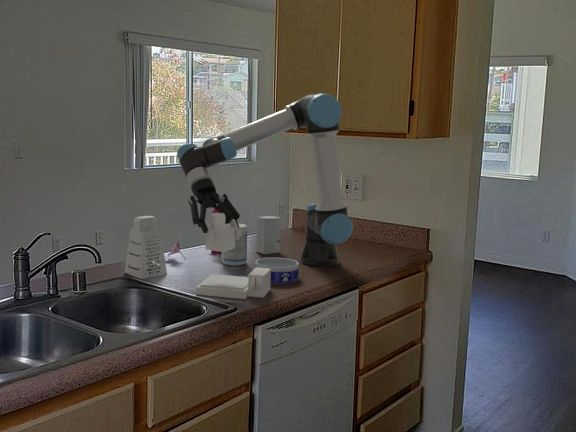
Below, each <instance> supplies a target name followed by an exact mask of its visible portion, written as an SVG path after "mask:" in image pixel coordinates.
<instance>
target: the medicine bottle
mask: <svg viewBox="0 0 576 432" xmlns="http://www.w3.org/2000/svg"><path fill="white" fill-rule="evenodd" d="M211 213H212V212H211ZM210 224H211V225H210V228H211V230H212V232H213V235H214V237H215V238H214V240H213V241H212V243H209V240H208V238H207V236H206V235H205V250H207V251H208V250H209V251H211V250H213V251H220V252H226V251H228V250H231V249H234V248H235V227H231V226H229V225H230V214H229V213H227V212H214V213H212V214H211V223H210Z"/></svg>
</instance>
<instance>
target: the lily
mask: <svg viewBox="0 0 576 432" xmlns="http://www.w3.org/2000/svg"><path fill="white" fill-rule="evenodd" d="M183 237H184V236H180V237H179V239H178V240H177V241H176V243H175V244H174V245H170V248H171V252H169V253H168V254H167V255H166V257H165V260H166V259H167V258H169V257H170V256H171V255H173V254H178V253H179V254H181V256H182V257H183V258H184V260H185V261H186V260H187V259H186V257H185V256H184V254H183V253H182V252H181V250H180V243H181V240H182V239H183Z"/></svg>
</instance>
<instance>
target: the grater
mask: <svg viewBox="0 0 576 432" xmlns="http://www.w3.org/2000/svg"><path fill="white" fill-rule="evenodd" d="M150 218H151V226H142V227H140V225H141V223H140V222H141V220H143V219H150ZM127 246H128V247H127V253H126V254H127V255H126V259H125V268H124V274H126V273H127V275H129V274H130V276H132V277H134V278H138V279H139V280H141V279H142V280H143V279H147V278H153V277H159V276H165V274H166V275H168V270H167V265H166V259H165V258H166V256H165V250H164V244H163V236H162V230H161V229H159V219H158V218H157V217H156V216H153V215H144V216H141V215H140V216H136V217H135V218H134V219H133V228H130V231H129V239H128V245H127Z"/></svg>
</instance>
